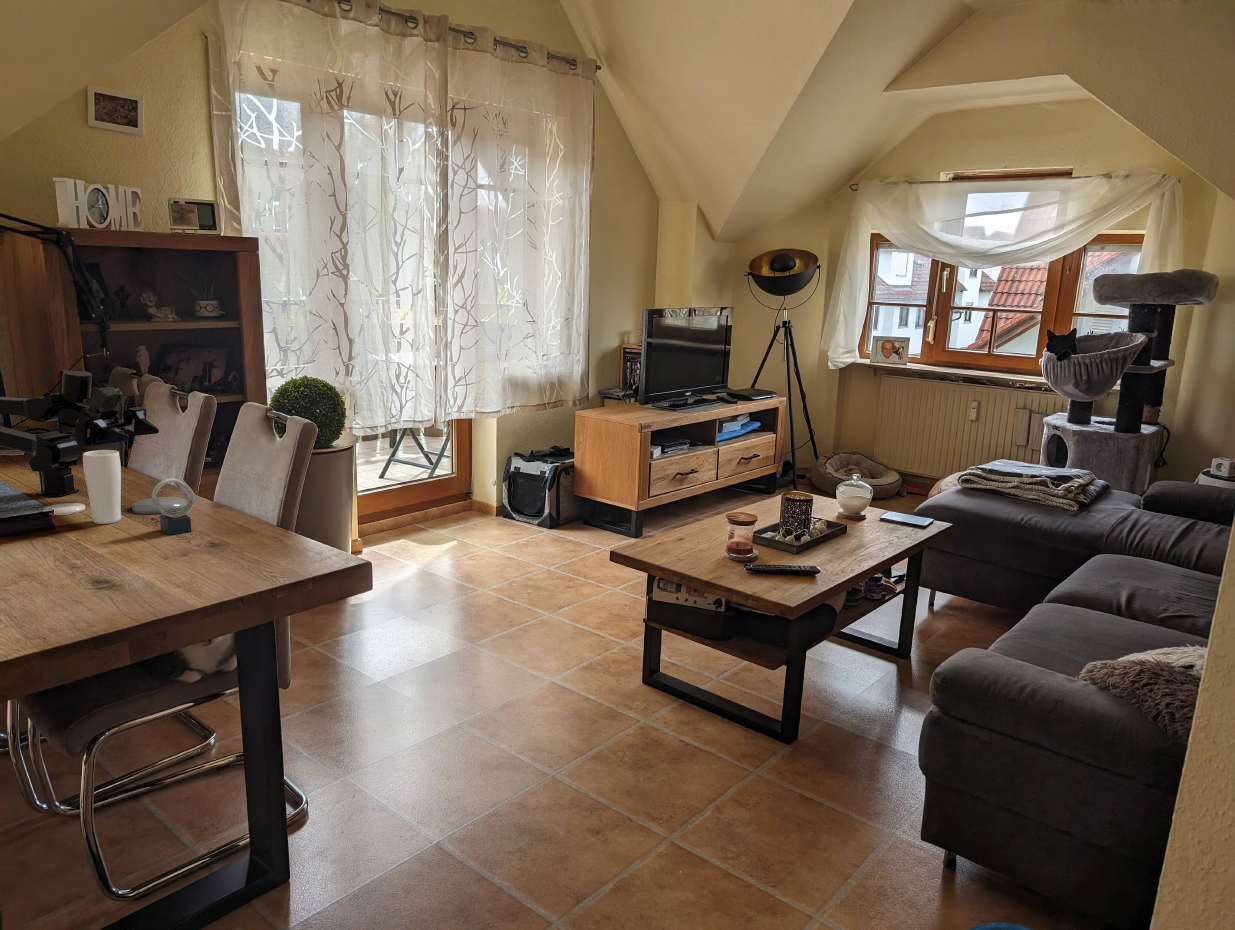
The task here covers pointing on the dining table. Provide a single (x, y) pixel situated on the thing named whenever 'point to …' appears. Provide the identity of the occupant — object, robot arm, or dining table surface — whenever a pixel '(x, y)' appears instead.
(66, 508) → the cream coaster
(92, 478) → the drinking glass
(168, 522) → the grey ring on block
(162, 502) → the slate saucer
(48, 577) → the dining table surface
